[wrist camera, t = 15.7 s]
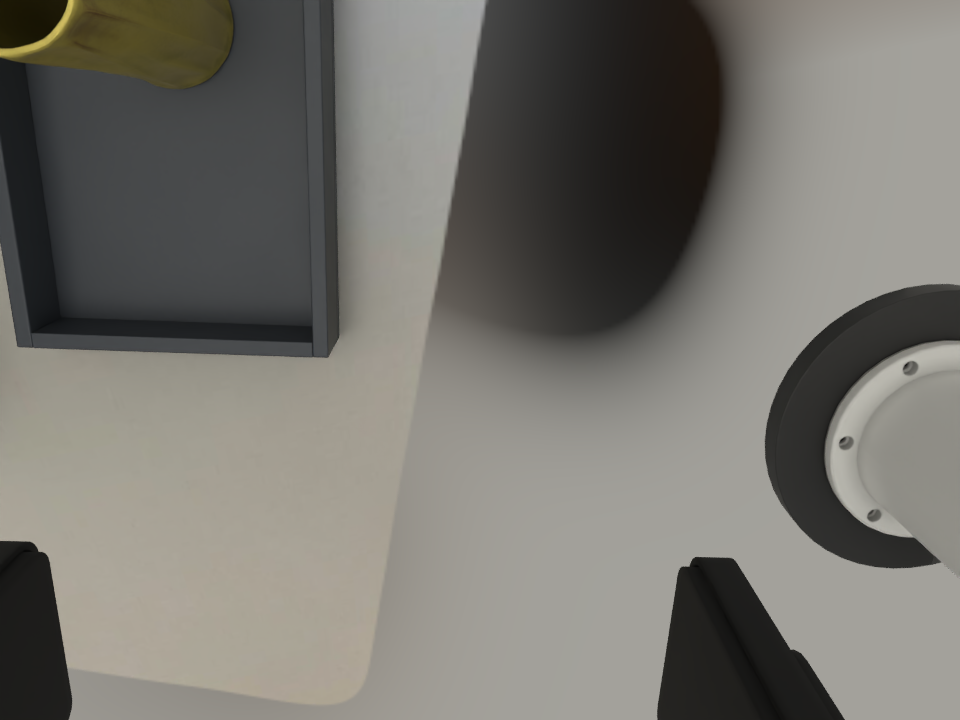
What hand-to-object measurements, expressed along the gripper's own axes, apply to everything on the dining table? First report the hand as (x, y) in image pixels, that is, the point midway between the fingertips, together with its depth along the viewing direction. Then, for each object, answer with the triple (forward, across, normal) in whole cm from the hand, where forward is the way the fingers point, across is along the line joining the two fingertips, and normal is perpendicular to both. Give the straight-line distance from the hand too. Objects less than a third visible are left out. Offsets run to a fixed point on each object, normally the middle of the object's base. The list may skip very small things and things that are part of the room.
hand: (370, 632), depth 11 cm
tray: (+30, +13, -6) cm, 34 cm away
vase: (+30, +13, -11) cm, 34 cm away
